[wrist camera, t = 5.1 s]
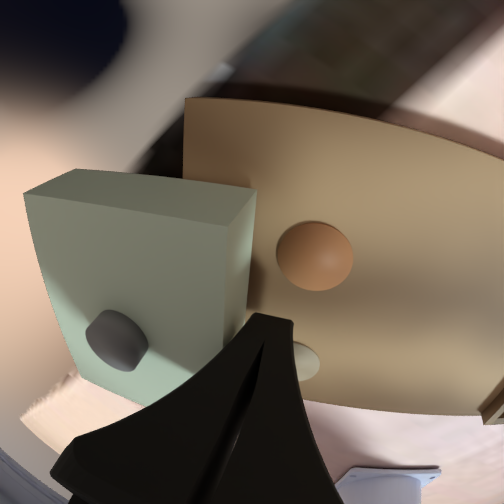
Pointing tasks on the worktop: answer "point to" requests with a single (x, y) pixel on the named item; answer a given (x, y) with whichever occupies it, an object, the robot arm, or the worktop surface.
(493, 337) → the board
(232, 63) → the worktop surface
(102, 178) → the cover
